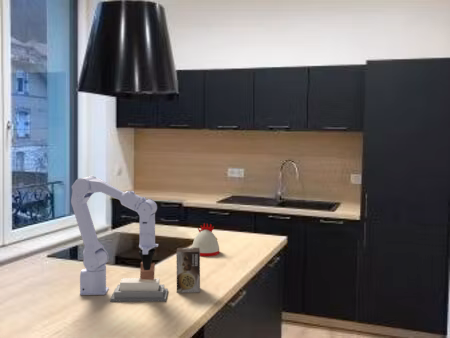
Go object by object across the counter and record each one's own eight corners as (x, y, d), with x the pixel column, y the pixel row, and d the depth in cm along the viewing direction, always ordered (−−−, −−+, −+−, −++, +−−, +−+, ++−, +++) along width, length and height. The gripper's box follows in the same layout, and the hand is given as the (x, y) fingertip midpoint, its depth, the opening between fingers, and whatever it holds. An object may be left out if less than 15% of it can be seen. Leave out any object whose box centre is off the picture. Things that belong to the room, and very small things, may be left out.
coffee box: (199, 287, 210) (200, 247, 209) (200, 292, 204) (200, 251, 203) (176, 287, 210) (176, 247, 208) (176, 292, 203) (176, 251, 202)
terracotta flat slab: (153, 279, 198) (154, 264, 197) (140, 279, 198) (140, 263, 197) (154, 278, 200) (154, 262, 199) (140, 277, 200) (141, 262, 199)
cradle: (110, 301, 193) (110, 293, 192) (115, 291, 205) (115, 283, 204) (165, 301, 194) (165, 293, 193) (167, 290, 206) (167, 283, 205)
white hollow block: (158, 295, 197) (158, 282, 196) (120, 295, 196) (119, 282, 196) (159, 291, 202) (159, 278, 202) (122, 291, 202) (122, 278, 201)
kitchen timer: (218, 256, 259) (219, 226, 258) (190, 256, 259) (190, 225, 258) (219, 249, 273) (220, 220, 271) (192, 249, 273) (192, 220, 272)
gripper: (156, 237, 190) (156, 274, 191) (159, 228, 204) (159, 263, 206) (136, 237, 190) (136, 274, 191) (141, 228, 204) (141, 263, 205)
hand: (147, 268), depth 198 cm, fingers closed on terracotta flat slab, 2 cm apart
